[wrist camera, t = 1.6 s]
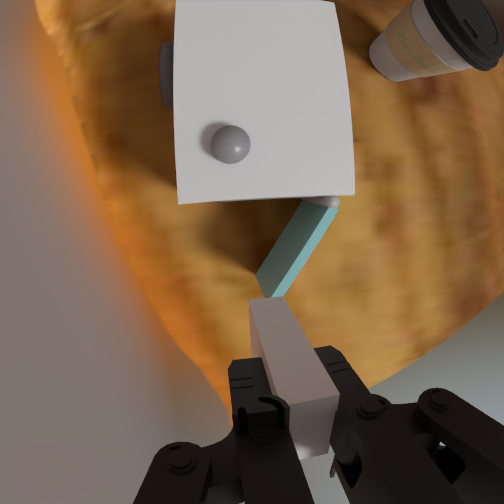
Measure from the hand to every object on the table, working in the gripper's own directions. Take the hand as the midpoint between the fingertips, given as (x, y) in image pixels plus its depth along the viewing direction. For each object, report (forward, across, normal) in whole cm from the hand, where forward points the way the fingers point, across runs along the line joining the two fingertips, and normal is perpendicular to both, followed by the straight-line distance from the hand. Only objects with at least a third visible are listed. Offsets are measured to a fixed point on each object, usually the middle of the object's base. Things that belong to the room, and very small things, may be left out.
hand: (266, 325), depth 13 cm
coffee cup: (+16, +19, +21) cm, 33 cm away
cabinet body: (+16, +2, +13) cm, 21 cm away
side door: (+16, +5, +1) cm, 17 cm away
